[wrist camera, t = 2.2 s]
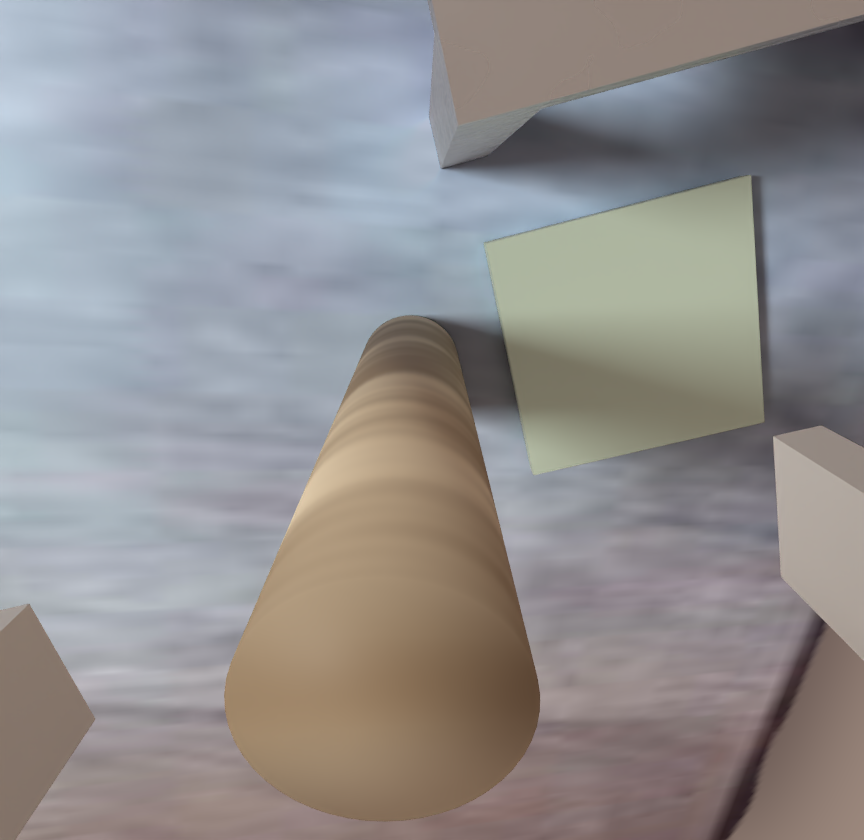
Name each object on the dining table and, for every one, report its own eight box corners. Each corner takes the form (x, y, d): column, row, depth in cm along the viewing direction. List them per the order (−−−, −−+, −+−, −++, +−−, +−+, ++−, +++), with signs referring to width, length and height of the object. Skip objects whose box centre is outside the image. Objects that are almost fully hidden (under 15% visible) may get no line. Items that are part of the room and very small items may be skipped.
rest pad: (483, 242, 23) (485, 243, 22) (739, 176, 22) (751, 174, 21) (530, 467, 26) (533, 475, 25) (754, 415, 25) (764, 422, 25)
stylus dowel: (351, 328, 24) (174, 618, 7) (445, 305, 23) (505, 545, 7) (377, 417, 25) (284, 843, 8) (467, 395, 25) (563, 791, 8)
